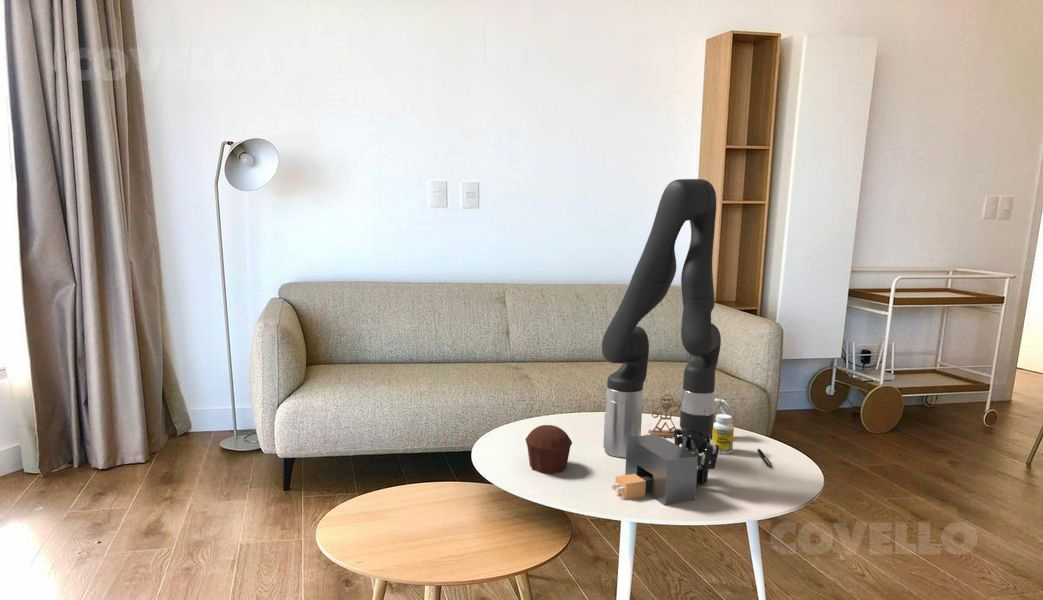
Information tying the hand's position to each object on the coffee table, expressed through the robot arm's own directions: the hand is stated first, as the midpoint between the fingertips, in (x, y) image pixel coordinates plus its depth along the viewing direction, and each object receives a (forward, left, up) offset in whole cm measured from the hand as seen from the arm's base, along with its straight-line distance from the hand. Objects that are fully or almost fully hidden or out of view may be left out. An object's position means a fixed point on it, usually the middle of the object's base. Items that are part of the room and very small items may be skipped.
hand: (693, 479), depth 160 cm
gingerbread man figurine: (-32, +15, -1) cm, 35 cm away
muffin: (-21, -27, -1) cm, 35 cm away
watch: (-26, +28, -1) cm, 38 cm away
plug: (0, -9, -1) cm, 9 cm away
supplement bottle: (-16, +22, -1) cm, 27 cm away
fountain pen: (-7, +28, -1) cm, 29 cm away
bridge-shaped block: (0, -9, -1) cm, 10 cm away
